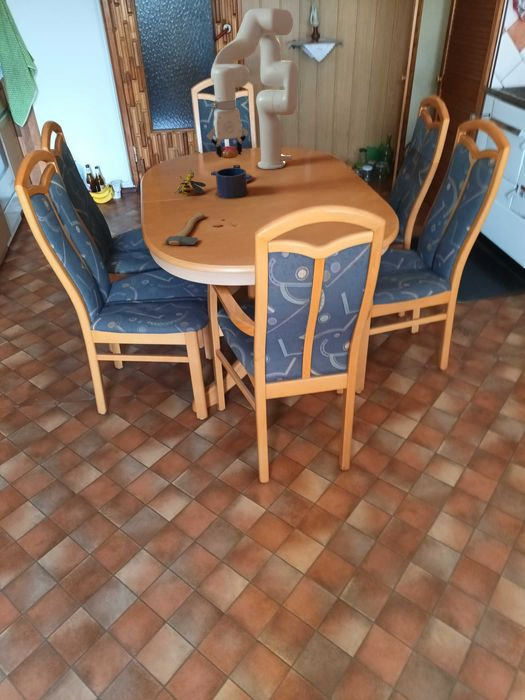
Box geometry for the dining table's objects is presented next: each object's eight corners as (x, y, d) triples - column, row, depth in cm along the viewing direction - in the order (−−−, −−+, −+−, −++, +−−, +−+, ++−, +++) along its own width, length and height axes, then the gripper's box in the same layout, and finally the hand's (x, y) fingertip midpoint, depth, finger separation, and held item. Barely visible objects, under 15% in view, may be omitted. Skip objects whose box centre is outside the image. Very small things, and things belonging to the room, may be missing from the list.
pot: (221, 186, 220) (219, 166, 215) (258, 191, 214) (257, 170, 209) (206, 195, 212) (204, 174, 207) (244, 200, 205) (242, 178, 200)
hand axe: (193, 242, 170) (164, 240, 172) (194, 247, 170) (165, 245, 173) (217, 212, 191) (191, 211, 193) (218, 217, 192) (191, 216, 194)
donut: (236, 154, 208) (235, 144, 206) (241, 158, 203) (240, 148, 200) (218, 156, 206) (217, 146, 204) (222, 160, 201) (222, 150, 199)
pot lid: (232, 174, 234) (230, 160, 230) (257, 177, 229) (257, 163, 225) (217, 183, 225) (215, 168, 221) (243, 186, 220) (242, 171, 216)
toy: (162, 181, 205) (180, 167, 216) (166, 202, 210) (184, 187, 221) (189, 184, 201) (206, 169, 212) (192, 204, 207) (209, 189, 217)
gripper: (205, 109, 189) (209, 160, 199) (251, 104, 193) (253, 155, 203) (200, 106, 195) (205, 155, 205) (245, 101, 199) (248, 150, 209)
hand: (229, 155), depth 204 cm, fingers closed on donut, 7 cm apart
